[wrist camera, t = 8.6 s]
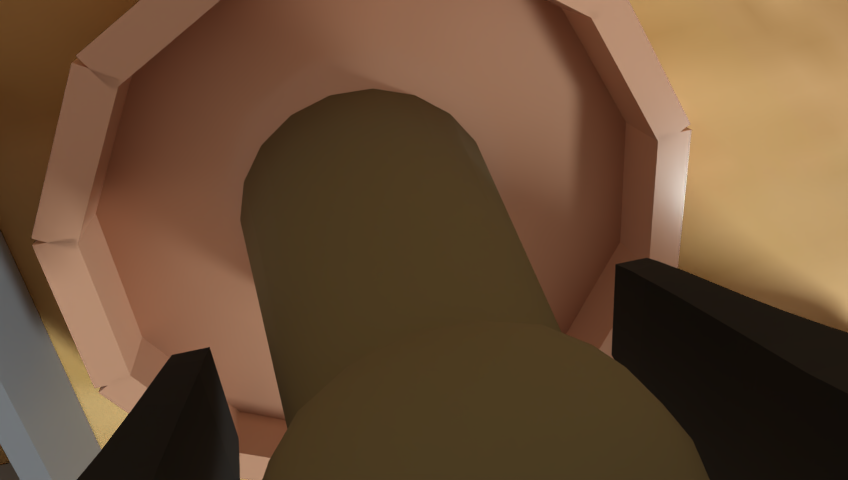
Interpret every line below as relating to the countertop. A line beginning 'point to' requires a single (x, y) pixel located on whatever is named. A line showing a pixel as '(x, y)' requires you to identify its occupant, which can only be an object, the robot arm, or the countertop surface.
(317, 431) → the olive rounded piece
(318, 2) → the dish
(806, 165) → the countertop surface
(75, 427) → the parts tray
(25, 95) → the countertop surface
